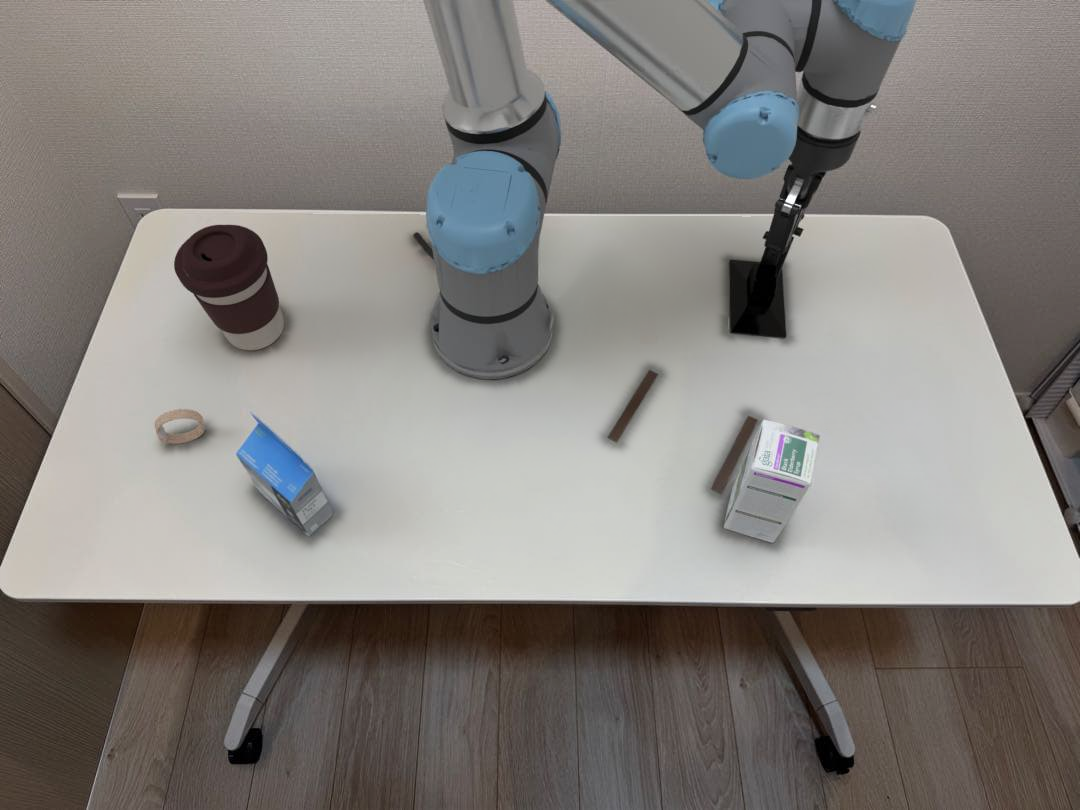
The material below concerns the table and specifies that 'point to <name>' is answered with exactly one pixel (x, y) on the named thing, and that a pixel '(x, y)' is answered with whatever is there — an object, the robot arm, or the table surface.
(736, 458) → the strips
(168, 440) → the beige hollow ring
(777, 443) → the syrup box
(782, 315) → the build plate
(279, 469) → the label tape box
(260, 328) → the coffee cup
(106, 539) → the table surface
